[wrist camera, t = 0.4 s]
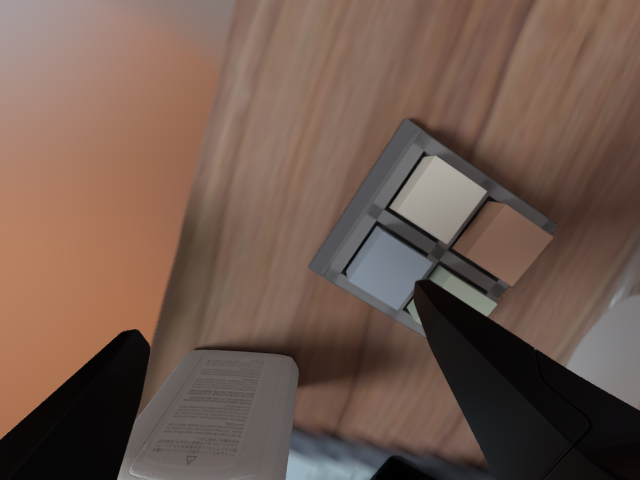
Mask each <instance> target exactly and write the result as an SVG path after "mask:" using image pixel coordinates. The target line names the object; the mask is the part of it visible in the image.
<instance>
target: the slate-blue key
mask: <svg viewBox="0 0 640 480" xmlns="http://www.w3.org/2000/svg"><path fill="white" fill-rule="evenodd" d="M432 264H433V263H432V262H431V261H430V260H429V259H427V258H426V257H425V256H424V255H423V254H421V253H419V252H418V251H416V250H415V249H413V248H411V247H410V246H408V245H407V244H405V243H404V242H402V241H400V240H399V239H397V238H396V237H394V236H393V235H391V234H389V233H388V232H386V231H385V230H383V229H382V228H380V227H378V226H376V228H375V229H374V231H373V232H372V234H371V235H370V237H369V238H368V240H367V241H366V242H365V244H364V245H363V247H362V248H361V250H360V251H359V253H358V254H357V256H356V257H355V259H354V260H353V261H352V263H351V264H350V266H349V267H348V269H347V270H346V273H347V277H348V281H349V282H351V283H353V284H354V285H356V286H358V287H359V288H361V289H363V290H364V291H366V292H368V293H369V294H371V295H373V296H374V297H376V298H378V299H379V300H381V301H383V302H384V303H386V304H388V305H389V306H391V307H393V308H394V309H396V310H398V309H399V307H400V306H401V305H402V304H403V302H404V301H405V300H406V298H407V297H408V296H409V294H410V293H411V292H412V290H413V289H414V285H415V281H417V280H421V278H422V277H423V276H424V274H425V273H426V272H427V270H428V269H429V268H430V266H431V265H432Z"/></svg>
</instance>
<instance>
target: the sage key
mask: <svg viewBox="0 0 640 480" xmlns="http://www.w3.org/2000/svg"><path fill="white" fill-rule="evenodd" d="M429 279H430V280H431V281H433V282H435V283H436V284H438V285H439V286H441V287H442V288H444V289H445V290H447V291H448V292H450V293H451V294H453V295H454V296H456V297H457V298H459V299H461V300H462V301H464V302H465V303H467V304H468V305H470V306H471V307H473V308H474V309H476V310H477V311H479V312H480V313H482V314H483V315H485V316H488V315H489V314H490V313H491V312H492V310H493V309H494V308H495V307H496V306H497V303H496V302H494V301H493V300H492V299H490V298H489V297H488V296H486V295H485V294H484V293H482V292H481V291H479V290H478V289H476V288H474V287H473V286H471V285H470V284H468V283H467V282H465V281H463V280H462V279H460V278H459V277H457V276H456V275H454V274H452V273H451V272H449V271H448V270H446V269H445V268H443V267H441V266H440V265H439V266H438V267H437V268H436V270H435V271H434V272H433V274H432V275H431V276H430V277H429ZM407 309H408V310H409V312H410V314H411V315H412V317H413V318H414V320H415V321H416V322H418V323H419V324H421V321H420V319H419V316H418V313H417V310H416V308H415V305H414V300H412V301H411V302H410V304H409V305H408V306H407ZM421 325H422V324H421Z"/></svg>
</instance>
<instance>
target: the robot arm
mask: <svg viewBox="0 0 640 480" xmlns="http://www.w3.org/2000/svg"><path fill="white" fill-rule="evenodd" d="M413 300H414V305H415V308H416V310H417V313H418V316H419V319H420V321H421V324H422V327H423V329H424V332H425V335H426V338H427V340H428V343H429V345H430V348H431V350H432V352H433V354H434V356H435V358H436V360H437V362H438V364H439V366H440V368H441V370H442V372H443V374H444V376H445V378H446V380H447V382H448V384H449V386H450V388H451V390H452V392H453V394H454V396H455V398H456V400H457V402H458V404H459V406H460V408H461V410H462V412H463V414H464V416H465V418H466V420H467V422H468V424H469V426H470V428H471V430H472V432H473V434H474V436H475V438H476V440H477V442H478V444H479V446H480V448H481V450H482V452H483V454H484V456H485V458H486V460H487V462H488V464H489V466H490V468H491V470H492V472H493V474H494V476H495V478H496V480H640V410H638V409H636V408H634V407H632V406H631V405H629V404H627V403H625V402H624V401H622V400H620V399H618V398H616V397H615V396H613V395H611V394H609V393H608V392H606V391H604V390H602V389H601V388H599V387H597V386H595V385H594V384H592V383H590V382H589V381H587V380H585V379H583V378H582V377H580V376H578V375H576V374H575V373H573V372H572V371H570V370H568V369H567V368H565V367H564V366H562V365H560V364H559V363H557V362H556V361H554V360H553V359H551V358H549V357H548V356H546V355H545V354H543V353H542V352H540V351H539V350H535V349H534V347H532V346H531V345H529V344H528V343H526V342H525V341H523V340H522V339H520V338H519V337H517V336H516V335H514V334H513V333H511V332H509V331H508V330H506V329H505V328H503V327H502V326H500V325H499V324H497V323H496V322H494V321H493V320H491V319H490V318H488V317H487V316H485V315H483V314H482V313H480V312H479V311H477V310H476V309H474V308H473V307H471V306H470V305H468V304H467V303H465V302H464V301H462V300H461V299H459V298H457V297H456V296H454V295H453V294H451V293H450V292H448V291H447V290H445V289H444V288H442V287H441V286H439V285H438V284H436V283H435V282H433V281H431V280H430V279H421V280H417V281H415V285H414V296H413ZM149 356H150V345H149V343H148V342H147V341H146V339H145V338H144V337H143V335H142V334H141V333H140V331H139V330H137V329H133V330H127V331H123V332H121V333H120V334H119V335H118V336H117V337H115V338H114V339H113V340H112V341H111V342H110V343H109V344H108V345H106V346H105V347H104V348H103V349H102V350H101V351H100V352H99V353H97V354H96V355H95V356H94V357H93V358H92V359H91V360H90V361H88V363H86V364H85V365H84V366H83V367H82V368H81V369H79V370H78V371H77V372H76V373H75V374H74V375H73V376H72V377H70V378H69V379H68V380H67V381H66V382H65V383H64V384H63V385H62V386H60V387H59V388H58V389H57V390H56V391H55V392H53V393H52V394H51V395H50V396H49V397H48V398H47V399H46V400H45V401H43V402H42V403H41V404H40V405H39V406H38V407H37V408H35V409H34V410H33V411H32V412H31V413H30V414H29V415H28V416H27V417H25V418H24V419H23V420H22V421H21V422H20V423H19V424H18V425H16V426H15V427H14V428H13V429H12V430H11V431H10V432H8V433H7V434H6V435H5V436H4V437H3V438H2V439H1V440H0V480H117V479H118V475H119V472H120V469H121V465H122V462H123V459H124V455H125V452H126V449H127V445H128V442H129V439H130V435H131V432H132V429H133V425H134V422H135V418H136V415H137V412H138V408H139V405H140V401H141V397H142V392H143V387H144V382H145V377H146V372H147V366H148V361H149ZM371 480H435V479H433V478H431V477H429V476H427V475H425V474H423V473H421V472H419V471H417V470H415V469H413V468H412V467H410V466H408V465H406V464H404V463H402V462H400V461H398V460H396V459H394V458H390V459H388V460H387V461H386V462H385V463H384V465H383V466H382V467H381V468H380V469H379V470H378V472H377V473H376V474H375V475H374V476H373V477H372V478H371Z"/></svg>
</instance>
